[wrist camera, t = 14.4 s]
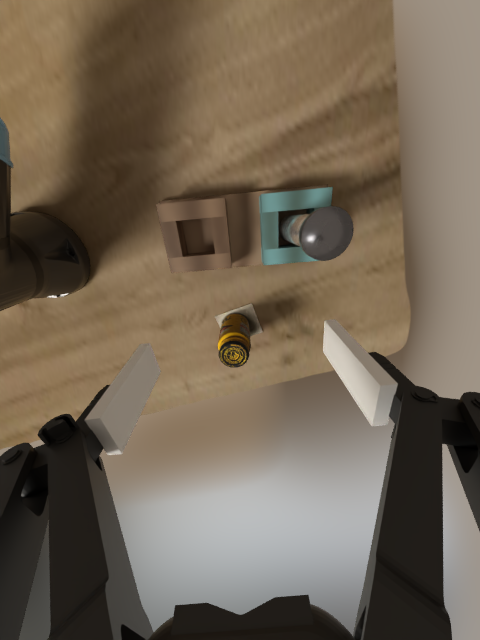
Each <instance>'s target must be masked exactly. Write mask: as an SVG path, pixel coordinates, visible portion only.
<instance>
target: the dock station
mask: <svg viewBox="0 0 480 640" xmlns="http://www.w3.org/2000/svg"><path fill="white" fill-rule="evenodd" d="M332 189H333V187H328V185H318V186H308V187H298V188H288V189H278V190H267V191H257V192H247V193H237V194H227V195H216V196H206V197H196V198H186V199H176V200H166V201H159V204H156V207H157V212H158V216H159V221H160V225H161V230H162V234H163V238H164V243H165V247H166V252H167V256H168V261H169V265H170V270H171V273H178V272H190V271H202V270H214V269H225V268H233V267H245V266H257V265H272V264H284V263H296V262H308V261H319V260H316V259H313V258H312V257H310V256H308V255H307V254H306V253H305V252H304V251H303V250H302V248H301V247H300V246H298V245H296V244H293V243H291V242H289V241H287V240H285V239H283V238H282V237H281V236H280V234H279V231H278V227H279V224H280V222H281V220H282V219H283V218H285V217H287V216H291V215H303V214H310V213H312V212H313V211H315V210H317V209H319V208H323V207H329V206H331V200H332Z"/></svg>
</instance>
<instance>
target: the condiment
mask: <svg viewBox="0 0 480 640" xmlns="http://www.w3.org/2000/svg"><path fill="white" fill-rule="evenodd" d="M244 314H245V315H244ZM215 318H216V320H217V322H218V324H219V326H220V328H221V330H220V336H219V341H218V349H219V358H220V360H221V362H222V363H223V364H224V365H226V366H229V367H240V366H242V365H244V364H245V363H246V362H247V360H248V358H249V351H250V348H251V344H250V336H252V335H255V334H259V333H262V332H263V331H262V329H261V326H260V323H259V321H258V318H257V316H256V313H255V311H254V308H253V306H252V303H251V304H249V305H246V306H243V307H240V308H238V309H235V310H232V311H229V312H226V313H223V314H221V315H218V316H216V317H215Z"/></svg>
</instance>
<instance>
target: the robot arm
mask: <svg viewBox="0 0 480 640" xmlns="http://www.w3.org/2000/svg"><path fill="white" fill-rule="evenodd" d="M11 168H13V163H12V162H11V160H10V145H9V132H8V129H7V127H6V125H5V123H4V122H3V120H2V119H1V118H0V311H1V310H4V309H6V308H9V307H11V306H14V305H16V304H19V303H21V302H24V301H26V300H29V299H32V298H45V297H63V296H67V295H69V294H72V293H74V292H76V291H78V290H80V289H81V288H82V287H83V286H84V285H85V284H86V282H87V280H88V278H89V274H90V261H89V257H88V254H87V251H86V249H85V247H84V245H83V243H82V242H81V240H80V239H79V238H78V236H77V235H76V234H75V233H74V232H73V231H72V230H71V229H70V228H69V227H68V226H67V225H65V224H64V223H63V222H61V221H60V220H58V219H56V218H54V217H52V216H50V215H47V214H44V213H39V212H13V213H11ZM323 352H324V354H325V355H326V357H327V358H328V360H329V361H330V363H331V364H332V366H333V368H334V369H335V371H336V372H337V373H338V375H339V377H340V378H341V380H342V381H343V383H344V384H345V386H346V387H347V389H348V391H349V392H350V393H351V395H352V397H353V398H354V400H355V401H356V403H357V404H358V406H359V407H360V409H361V410H362V412H363V413H364V415H365V417H366V418H367V420H368V421H369V423H370V424H371V426H381V425H387V424H388V420H389V417H390V418H391V419H392V420H393V422H394V423H395V425H394V429H393V432H392V436H391V438H392V440H391V445H390V450H389V456H388V461H387V466H386V472H385V477H384V482H383V487H382V492H381V498H380V503H379V509H378V514H377V519H376V525H375V529H374V535H373V540H372V545H371V551H370V556H369V561H368V566H367V571H366V577H365V582H364V587H363V591H362V596H361V600H360V604H359V609H358V614H357V619H356V624H355V629H354V634H353V636H352V635H351V634H350V632H349V631H348V630H347V629H346V628H345V627H344V626H343V625H342V624H341V623H340V622H339V621H338V620H337V619H335V618H334V617H333V616H332V615H330V614H329V613H328V612H326V611H324V610H323V609H321V608H319V607H317V606H314V605H311V604H310V601H309V596H308V595H300V596H287V597H276V598H273V599H271V600H269V601H268V602H266V603H264V604H262V605H260V606H258V607H257V608H255V609H253V610H251V611H249V612H247V613H245V614H243V615H238V614H235V613H233V612H230V611H227V610H225V609H222V608H219V607H217V606H214V605H211V604H209V603H200V604H188V605H176V606H175V611H174V617H172V618H170V619H169V620H167V621H166V622H165V623H163V624H162V625H161V626H160V627H159V628H158V629H157V630H156V631H155V632H154V633H153V630H152V627H151V624H150V622H149V619H148V617H147V615H146V613H145V611H144V609H143V607H142V605H141V601H140V598H139V594H138V590H137V587H136V583H135V579H134V576H133V572H132V568H131V565H130V561H129V557H128V554H127V550H126V546H125V542H124V539H123V535H122V532H121V528H120V524H119V520H118V517H117V513H116V510H115V506H114V502H113V498H112V495H111V491H110V487H109V484H108V480H107V476H106V473H105V469H104V465H103V462H102V459H101V457H100V456H99V455H100V453H101V452H102V450H103V449H104V450H105V451H106V453H107V454H108V455H114V454H122V452H123V450H124V448H125V446H126V444H127V442H128V440H129V438H130V436H131V433H132V431H133V429H134V427H135V425H136V423H137V421H138V419H139V417H140V414H141V412H142V410H143V408H144V406H145V404H146V402H147V400H148V398H149V395H150V393H151V391H152V389H153V387H154V385H155V383H156V381H157V379H158V376H159V374H160V372H161V371H160V368H159V365H158V363H157V360H156V358H155V355H154V352H153V350H152V347H151V344H150V343H146V344H140V345H139V347H138V348H137V349H136V351H135V352H134V353H133V355H132V356H131V357H130V359H129V360H128V361H127V363H126V364H125V366H124V367H123V368H122V370H121V371H120V372H119V374H118V375H117V376H116V378H115V379H114V381H113V382H112V383H111V385H106V386H105V387H104V388H103V389H102V390H100V391H99V392H98V394H97V395H96V396H95V397H94V400H92V401H91V403H90V404H89V406H87V408H86V409H85V410H84V412H83V413H82V414H81V416H80V417H79V418H78V419H77V421H76V422H75V420H74V419H73V417H72V416H71V415H70V414H63V415H60V416H57V417H55V418H53V419H52V420H50V421H49V422H47V423H46V424H45V425H44V426H43V427H42V428H41V429H40V431H39V433H38V436H39V437H40V439H41V440H42V441H43V442H44V443H45V444H44V445H41V446H38V447H36V448H33V447H32V446H31V445H30V444H29V443H22V444H19V445H16V446H14V447H12V448H11V449H9V450H8V451H6V452H5V453H4V454H2V455H1V456H0V640H18V639H19V635H20V631H21V627H22V623H23V619H24V615H25V611H26V607H27V603H28V599H29V595H30V591H31V587H32V583H33V579H34V575H35V571H36V567H37V563H38V559H39V555H40V551H41V547H42V543H43V539H44V535H45V532H46V528H47V523H48V520H49V552H50V553H49V558H50V610H51V630H50V635H49V638H48V639H47V640H452V634H451V623H450V618H449V615H448V613H447V611H446V609H445V606H444V597H443V496H442V494H443V492H442V444H447V446H448V449H449V451H450V454H451V457H452V459H453V462H454V465H455V467H456V470H457V473H458V475H459V478H460V481H461V483H462V486H463V488H464V491H465V494H466V497H467V499H468V502H469V504H470V507H471V510H472V512H473V515H474V518H475V520H476V522H477V525H478V528H479V531H480V393H477V392H467V393H464V394H463V395H462V396H461V398H460V400H458V399H450V398H442V397H439V396H438V395H437V394H435V393H434V392H432V391H431V390H429V389H426V388H423V387H419V386H415V385H414V384H413V383H412V382H411V381H410V380H409V379H407V378H406V376H404V375H403V374H402V373H401V372H400V371H399V370H398V369H396V367H395V366H394V365H393V364H391V362H390V361H388V360H387V359H386V358H385V357H384V356H382V355H380V354H378V353H377V352H371V353H367V352H366V350H365V349H364V348H363V347H362V346H361V345H360V344H359V343H358V342H357V341H356V340H355V339H354V338H353V337H352V336H351V335H350V334H349V333H348V332H347V331H346V330H345V329H344V328H343V327H342V326H341V325H340V324H339V323H338V322H337V321H336V320H335V319H333V320H325V322H324V342H323Z"/></svg>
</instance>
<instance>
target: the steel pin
mask: <svg viewBox="0 0 480 640" xmlns="http://www.w3.org/2000/svg"><path fill="white" fill-rule="evenodd" d="M278 231H279V234H280V236H281V237H282V238H283V239H285V240H287V241H289V242H291V243H293V244H296V245H298V246H300V247H301V248H302V250H303V251H304V252H305V253H306V254H307V255H308V256H310V257H312V258H313V259H316V260H320V261H326V260H331V259H334V258H336V257H337V256H339V255H340V254H341V253H343V252H344V251H345V249H346V248H347V247H348V245H349V244H350V241H351V239H352V236H353V222H352V219H351V217H350V215H349V214H348V213H347V212H346V211H345V210H343V209H342V208H339V207H335V206H329V207H323V208H319V209H317V210H315V211H313V212H312V213H310V214H303V215H291V216H287V217H285V218H283V219H282V220H281V222H280V224H279V227H278Z"/></svg>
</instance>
